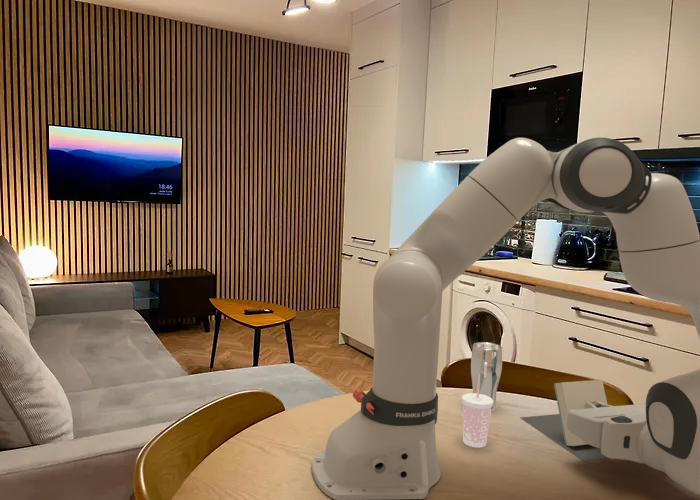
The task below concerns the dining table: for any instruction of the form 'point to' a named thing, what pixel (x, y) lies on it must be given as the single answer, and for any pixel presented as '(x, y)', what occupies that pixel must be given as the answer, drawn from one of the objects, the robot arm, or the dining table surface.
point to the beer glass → (486, 369)
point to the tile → (576, 402)
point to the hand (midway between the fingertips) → (590, 405)
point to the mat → (553, 430)
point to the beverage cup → (476, 417)
